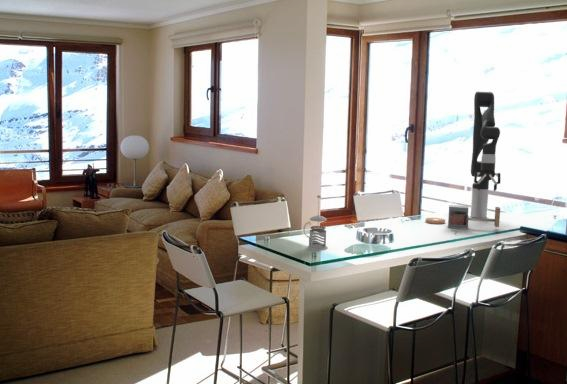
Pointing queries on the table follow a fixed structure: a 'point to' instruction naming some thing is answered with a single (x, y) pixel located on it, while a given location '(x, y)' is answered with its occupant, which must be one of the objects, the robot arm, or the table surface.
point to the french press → (312, 243)
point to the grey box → (456, 208)
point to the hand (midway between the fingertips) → (486, 190)
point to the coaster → (435, 220)
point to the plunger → (496, 220)
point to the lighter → (458, 218)
